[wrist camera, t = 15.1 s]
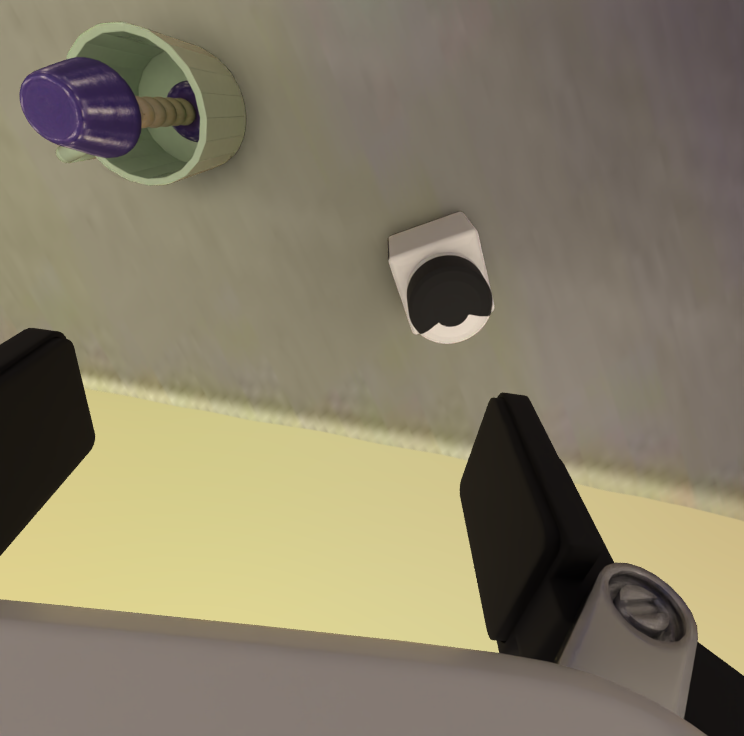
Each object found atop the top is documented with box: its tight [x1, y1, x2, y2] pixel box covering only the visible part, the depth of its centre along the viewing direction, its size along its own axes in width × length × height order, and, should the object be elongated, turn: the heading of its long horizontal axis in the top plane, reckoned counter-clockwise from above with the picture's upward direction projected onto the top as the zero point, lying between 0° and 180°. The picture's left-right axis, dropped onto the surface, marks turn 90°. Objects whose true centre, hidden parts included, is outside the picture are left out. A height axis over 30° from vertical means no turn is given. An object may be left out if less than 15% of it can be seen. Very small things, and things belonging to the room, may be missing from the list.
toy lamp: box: [20, 57, 200, 158], centre depth 27 cm, size 5×5×17 cm
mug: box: [56, 22, 246, 186], centre depth 31 cm, size 12×9×9 cm
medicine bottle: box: [388, 211, 495, 344], centre depth 35 cm, size 7×7×12 cm
